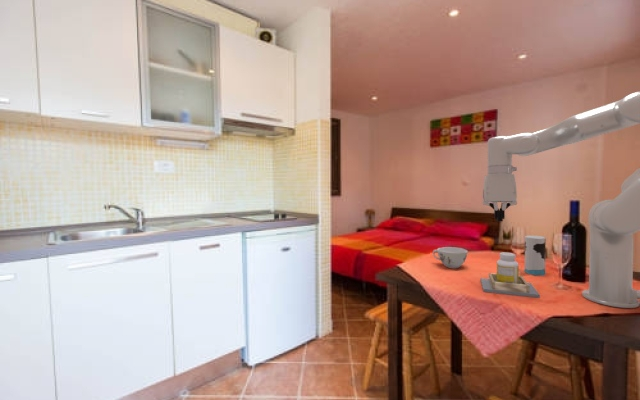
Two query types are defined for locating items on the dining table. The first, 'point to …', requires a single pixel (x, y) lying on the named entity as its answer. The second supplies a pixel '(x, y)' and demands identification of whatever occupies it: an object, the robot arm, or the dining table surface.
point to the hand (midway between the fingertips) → (499, 220)
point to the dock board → (488, 288)
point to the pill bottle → (507, 268)
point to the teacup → (451, 256)
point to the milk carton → (535, 255)
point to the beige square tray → (509, 284)
